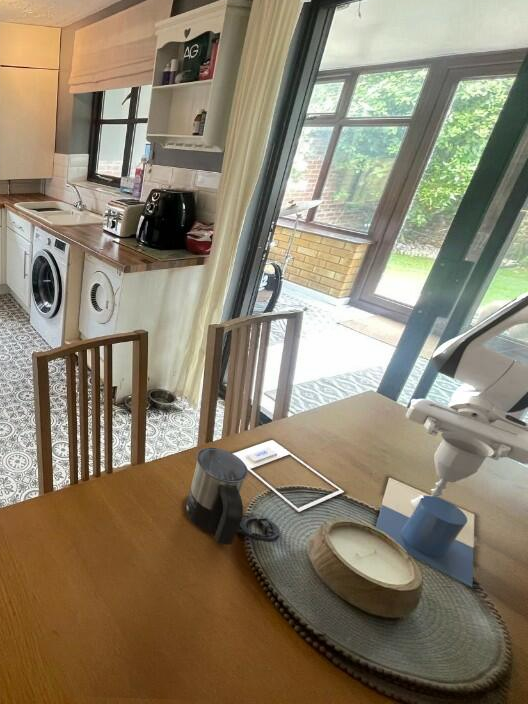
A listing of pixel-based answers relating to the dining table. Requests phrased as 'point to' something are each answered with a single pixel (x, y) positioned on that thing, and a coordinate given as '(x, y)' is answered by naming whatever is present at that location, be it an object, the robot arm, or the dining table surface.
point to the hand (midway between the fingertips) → (462, 443)
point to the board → (392, 523)
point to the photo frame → (272, 452)
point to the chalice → (457, 460)
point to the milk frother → (223, 498)
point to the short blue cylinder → (433, 526)
